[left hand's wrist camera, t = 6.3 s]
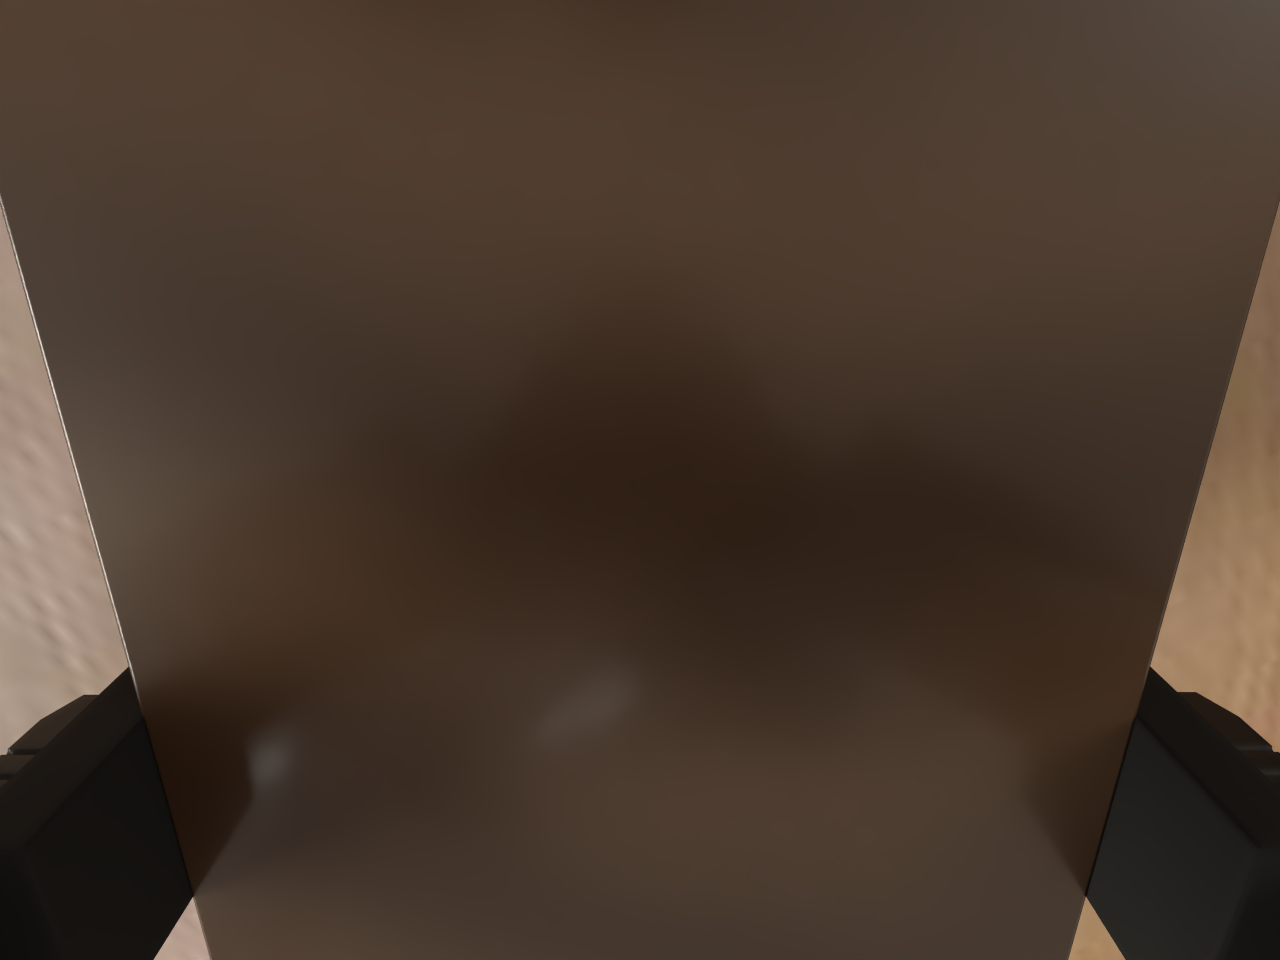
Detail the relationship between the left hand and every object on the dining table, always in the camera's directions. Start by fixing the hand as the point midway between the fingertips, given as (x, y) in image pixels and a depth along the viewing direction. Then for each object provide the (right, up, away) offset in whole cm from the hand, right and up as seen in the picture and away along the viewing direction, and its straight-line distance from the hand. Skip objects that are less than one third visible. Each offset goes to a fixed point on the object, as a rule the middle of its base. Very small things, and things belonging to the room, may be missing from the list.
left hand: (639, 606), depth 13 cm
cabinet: (0, +6, +3) cm, 7 cm away
